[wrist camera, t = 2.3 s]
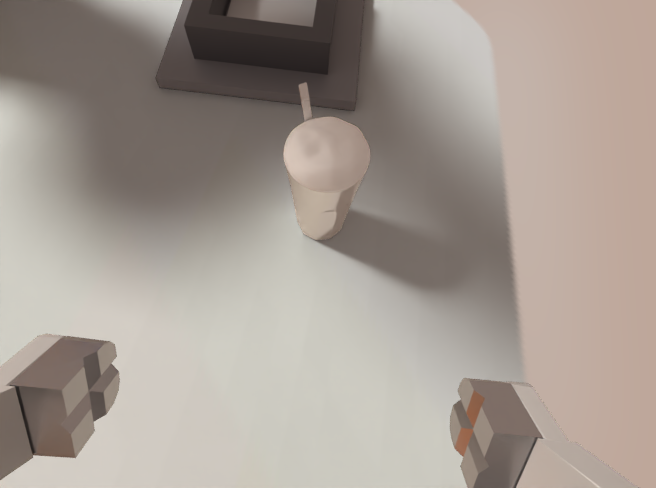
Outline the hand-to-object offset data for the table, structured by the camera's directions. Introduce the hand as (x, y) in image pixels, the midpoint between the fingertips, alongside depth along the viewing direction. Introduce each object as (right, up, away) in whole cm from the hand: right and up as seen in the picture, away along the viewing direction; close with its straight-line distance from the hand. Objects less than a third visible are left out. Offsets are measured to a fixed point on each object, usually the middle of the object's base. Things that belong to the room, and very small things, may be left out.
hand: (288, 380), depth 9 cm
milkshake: (0, +5, +19) cm, 19 cm away
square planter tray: (-4, +22, +25) cm, 34 cm away
